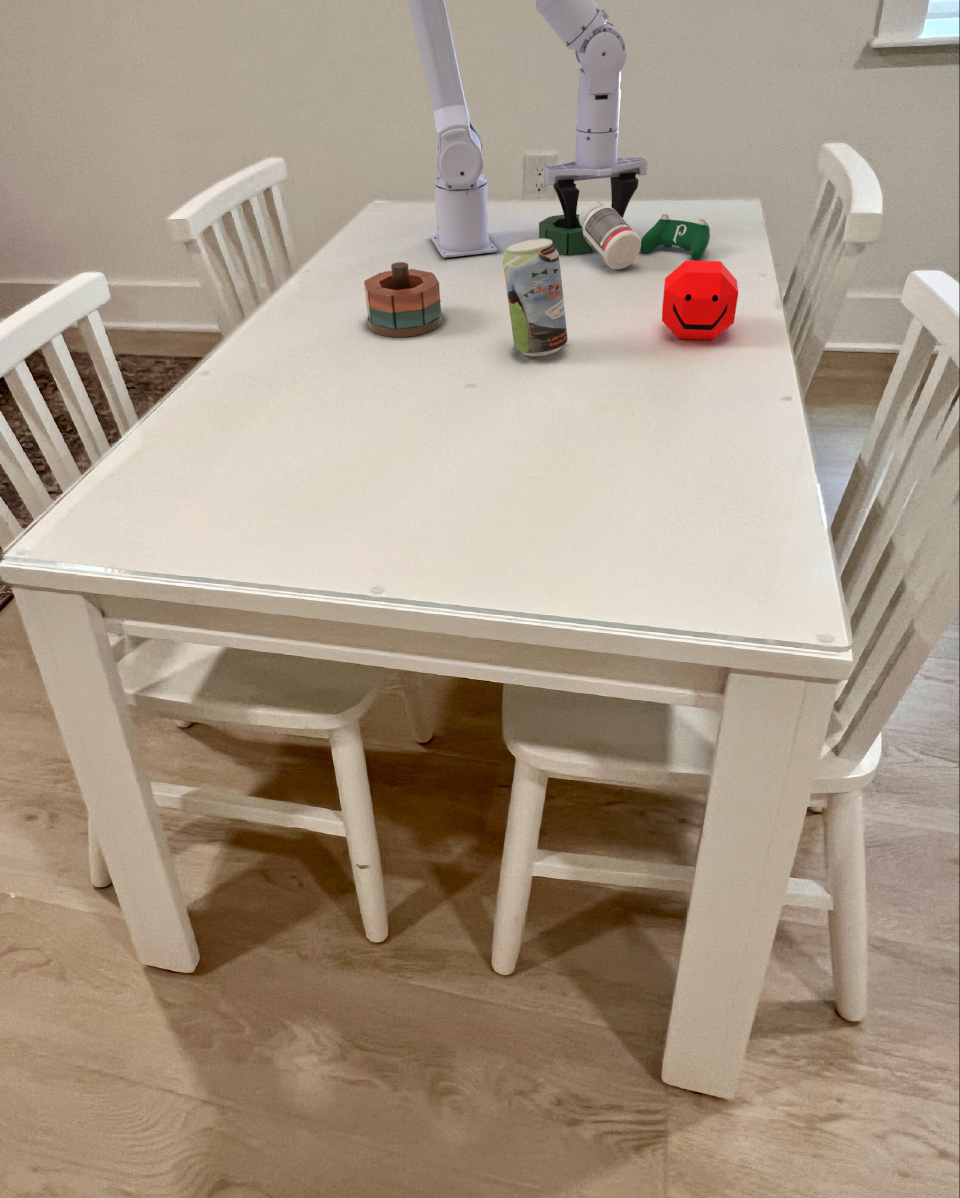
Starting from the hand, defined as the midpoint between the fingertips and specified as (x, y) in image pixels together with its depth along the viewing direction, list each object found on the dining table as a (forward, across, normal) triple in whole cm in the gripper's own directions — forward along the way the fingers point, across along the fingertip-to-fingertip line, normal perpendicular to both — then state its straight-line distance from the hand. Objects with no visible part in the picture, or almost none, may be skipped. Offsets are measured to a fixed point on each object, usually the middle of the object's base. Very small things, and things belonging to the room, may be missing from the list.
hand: (593, 232), depth 129 cm
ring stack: (+1, -31, -21) cm, 38 cm away
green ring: (+1, -3, 0) cm, 4 cm away
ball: (+2, +1, -35) cm, 35 cm away
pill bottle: (-1, 0, -13) cm, 13 cm away
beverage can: (+2, -18, -34) cm, 39 cm away
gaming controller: (+2, +10, -8) cm, 13 cm away
